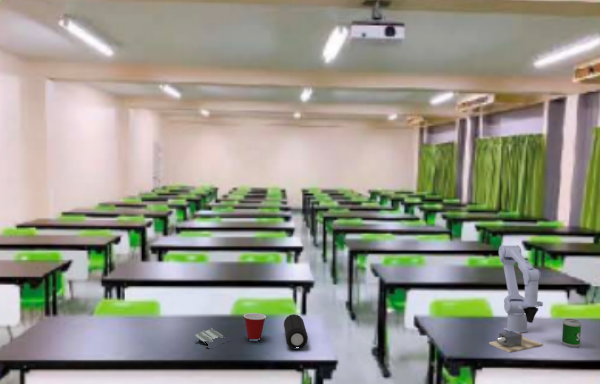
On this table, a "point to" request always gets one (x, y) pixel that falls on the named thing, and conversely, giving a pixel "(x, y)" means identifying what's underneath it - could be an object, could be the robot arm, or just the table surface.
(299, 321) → the portable speaker
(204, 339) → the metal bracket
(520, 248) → the robot arm
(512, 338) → the bearing stand
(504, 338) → the shaft
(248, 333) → the plastic cup
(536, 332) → the table surface
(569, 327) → the soda can
